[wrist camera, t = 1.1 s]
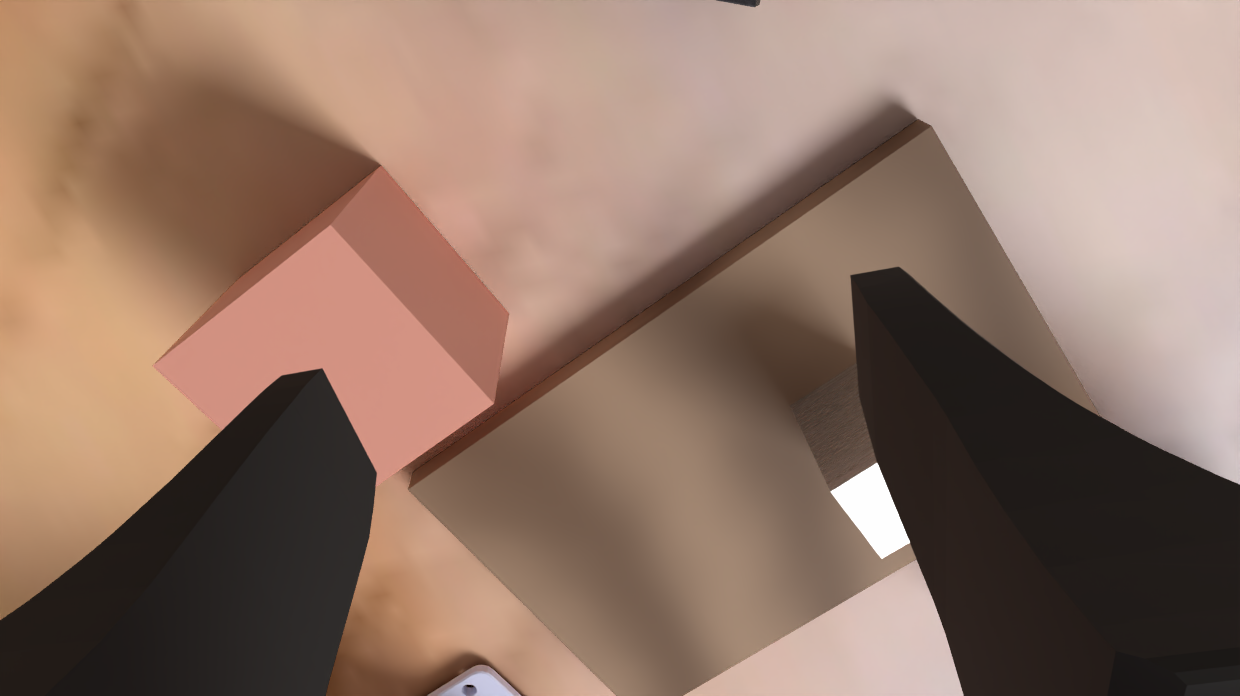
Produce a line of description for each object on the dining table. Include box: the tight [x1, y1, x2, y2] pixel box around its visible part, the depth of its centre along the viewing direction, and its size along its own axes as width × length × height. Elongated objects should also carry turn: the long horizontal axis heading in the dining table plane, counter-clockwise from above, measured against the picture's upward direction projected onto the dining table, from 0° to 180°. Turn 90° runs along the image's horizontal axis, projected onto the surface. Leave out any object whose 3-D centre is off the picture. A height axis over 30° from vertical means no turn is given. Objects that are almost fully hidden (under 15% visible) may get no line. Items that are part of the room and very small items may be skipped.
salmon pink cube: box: [153, 166, 509, 486], centre depth 23 cm, size 5×5×6 cm
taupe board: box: [408, 119, 1100, 696], centre depth 28 cm, size 18×12×1 cm, turn 126°
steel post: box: [790, 363, 909, 558], centre depth 25 cm, size 3×3×5 cm
